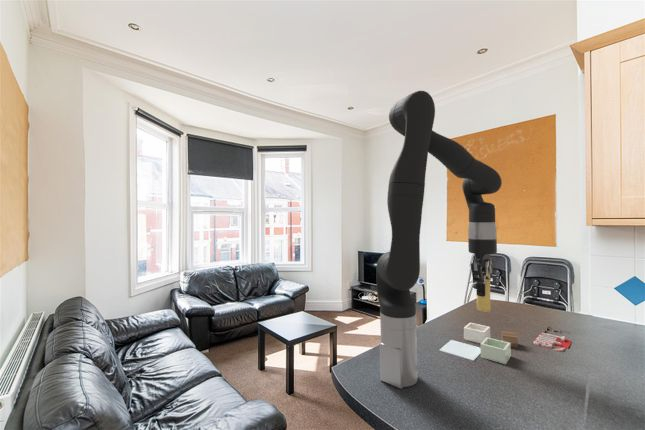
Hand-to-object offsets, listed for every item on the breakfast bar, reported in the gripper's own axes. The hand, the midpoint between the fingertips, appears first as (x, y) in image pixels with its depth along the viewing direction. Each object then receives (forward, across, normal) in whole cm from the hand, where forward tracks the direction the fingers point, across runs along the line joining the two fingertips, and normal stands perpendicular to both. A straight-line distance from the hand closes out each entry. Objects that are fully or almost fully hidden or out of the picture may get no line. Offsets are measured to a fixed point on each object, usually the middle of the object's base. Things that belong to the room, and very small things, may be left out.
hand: (483, 294), depth 88 cm
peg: (+5, 0, 0) cm, 5 cm away
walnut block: (+19, +13, -4) cm, 23 cm away
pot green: (+19, +1, -3) cm, 19 cm away
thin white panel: (+19, -1, +6) cm, 20 cm away
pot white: (+19, +11, +5) cm, 22 cm away
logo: (+19, +30, -13) cm, 37 cm away
